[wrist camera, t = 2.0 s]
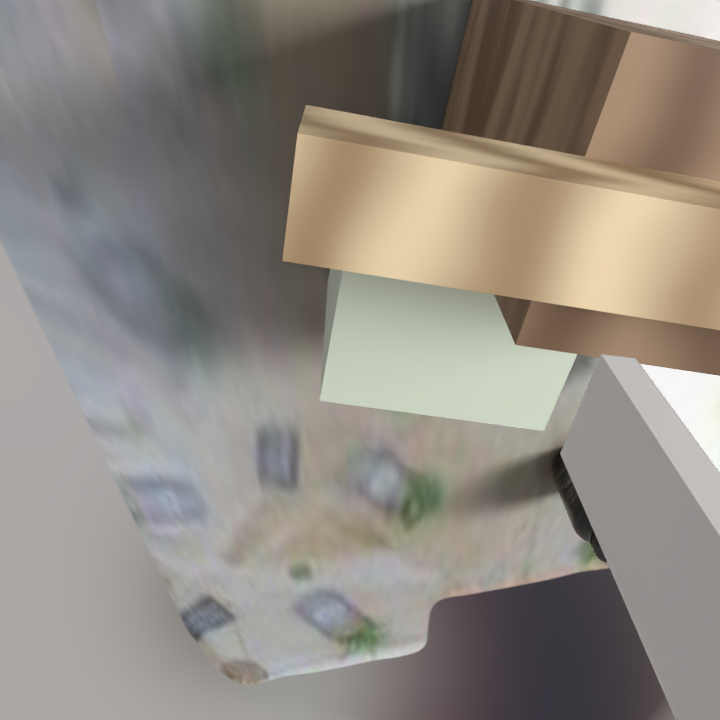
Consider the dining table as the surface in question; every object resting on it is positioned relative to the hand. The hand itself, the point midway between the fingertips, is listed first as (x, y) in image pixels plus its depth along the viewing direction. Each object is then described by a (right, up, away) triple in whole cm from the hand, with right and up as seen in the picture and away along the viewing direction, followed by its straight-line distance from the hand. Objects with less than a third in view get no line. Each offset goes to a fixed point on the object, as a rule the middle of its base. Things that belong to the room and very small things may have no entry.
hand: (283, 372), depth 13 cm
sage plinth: (+7, +11, +43) cm, 45 cm away
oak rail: (+13, +5, +11) cm, 18 cm away
